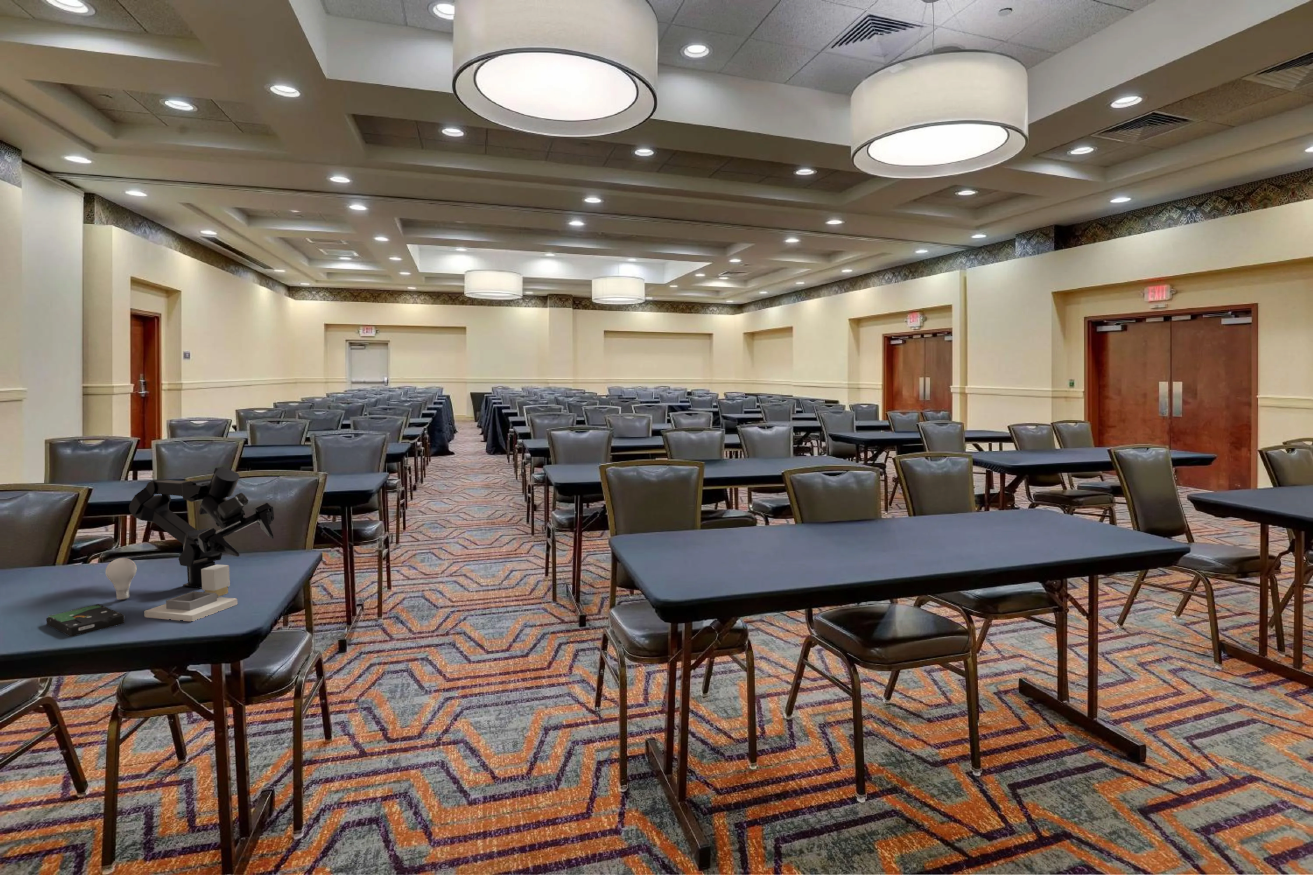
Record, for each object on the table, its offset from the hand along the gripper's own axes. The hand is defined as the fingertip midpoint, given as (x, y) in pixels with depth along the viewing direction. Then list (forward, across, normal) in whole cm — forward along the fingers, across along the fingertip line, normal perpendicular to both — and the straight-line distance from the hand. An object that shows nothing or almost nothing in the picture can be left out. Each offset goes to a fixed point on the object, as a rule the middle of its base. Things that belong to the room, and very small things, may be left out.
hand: (256, 546), depth 181 cm
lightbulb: (-16, -26, +17) cm, 35 cm away
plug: (-1, -11, +13) cm, 17 cm away
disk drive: (-6, -37, +6) cm, 38 cm away
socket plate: (+5, -19, +5) cm, 20 cm away
